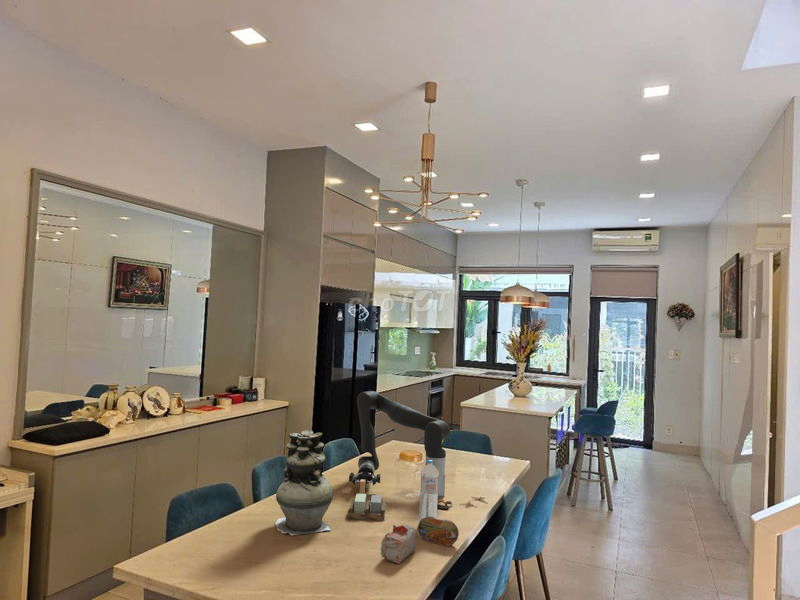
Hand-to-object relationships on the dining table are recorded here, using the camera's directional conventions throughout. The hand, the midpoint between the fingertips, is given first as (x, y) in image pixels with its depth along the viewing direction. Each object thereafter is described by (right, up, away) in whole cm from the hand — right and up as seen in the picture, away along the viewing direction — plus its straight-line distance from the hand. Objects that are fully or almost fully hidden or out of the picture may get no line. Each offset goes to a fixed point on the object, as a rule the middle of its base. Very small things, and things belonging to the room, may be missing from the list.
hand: (363, 482), depth 235 cm
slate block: (+6, -6, -19) cm, 21 cm away
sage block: (0, -6, -16) cm, 17 cm away
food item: (+16, -5, -58) cm, 60 cm away
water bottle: (+27, -7, -30) cm, 41 cm away
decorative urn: (-20, -4, -36) cm, 42 cm away
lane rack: (+3, -6, -20) cm, 21 cm away
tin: (+30, -6, -45) cm, 54 cm away
